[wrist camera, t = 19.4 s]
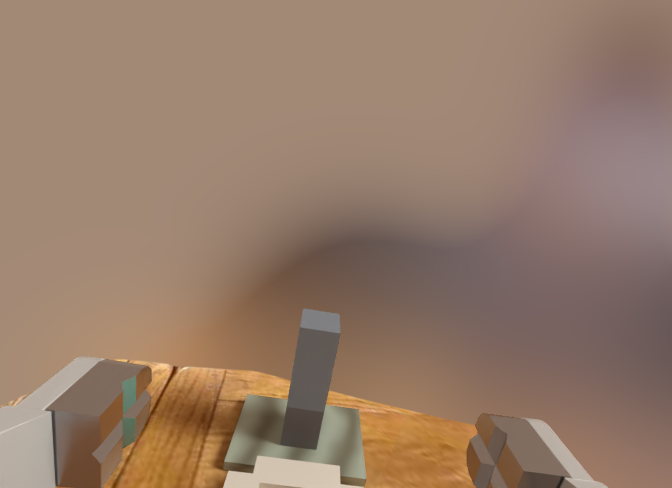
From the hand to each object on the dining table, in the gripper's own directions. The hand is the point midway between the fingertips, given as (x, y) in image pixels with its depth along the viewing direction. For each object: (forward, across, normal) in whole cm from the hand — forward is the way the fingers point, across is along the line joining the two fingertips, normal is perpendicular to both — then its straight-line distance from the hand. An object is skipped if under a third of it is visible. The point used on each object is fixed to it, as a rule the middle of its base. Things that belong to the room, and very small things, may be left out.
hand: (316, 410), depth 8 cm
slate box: (+35, -2, +36) cm, 51 cm away
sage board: (+35, -2, +38) cm, 52 cm away
